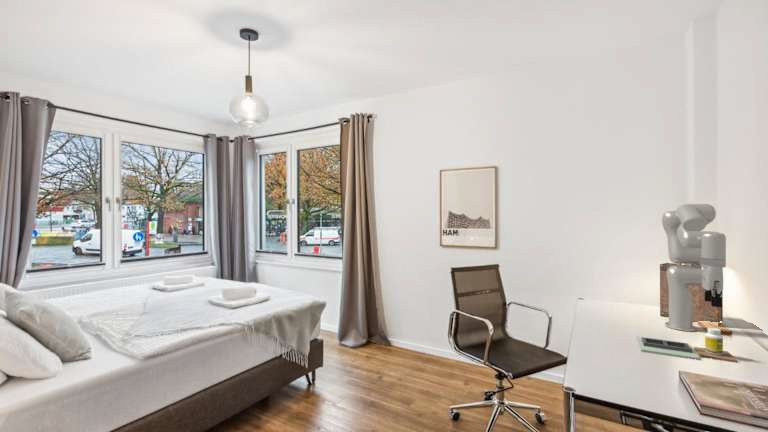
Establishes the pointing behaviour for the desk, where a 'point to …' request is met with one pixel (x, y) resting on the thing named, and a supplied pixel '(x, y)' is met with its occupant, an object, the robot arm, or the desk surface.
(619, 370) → the desk surface
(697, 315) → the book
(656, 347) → the pale green flat slab
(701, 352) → the walnut pad
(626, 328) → the desk surface
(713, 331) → the supplement bottle
